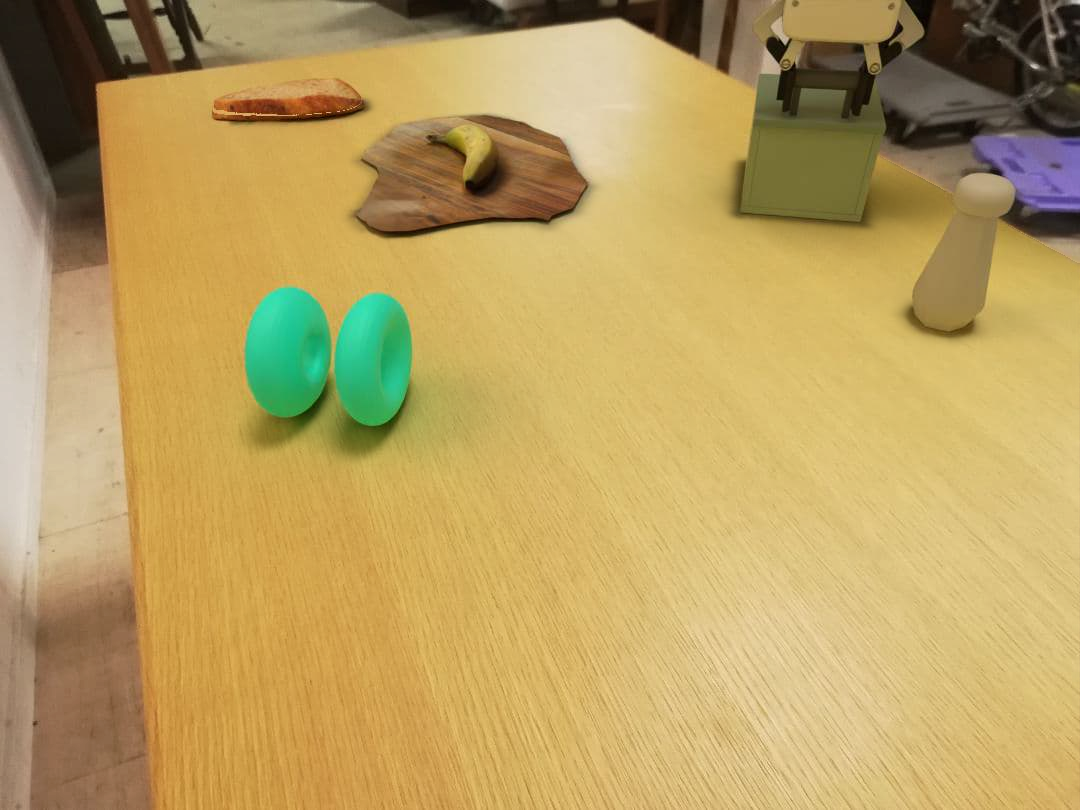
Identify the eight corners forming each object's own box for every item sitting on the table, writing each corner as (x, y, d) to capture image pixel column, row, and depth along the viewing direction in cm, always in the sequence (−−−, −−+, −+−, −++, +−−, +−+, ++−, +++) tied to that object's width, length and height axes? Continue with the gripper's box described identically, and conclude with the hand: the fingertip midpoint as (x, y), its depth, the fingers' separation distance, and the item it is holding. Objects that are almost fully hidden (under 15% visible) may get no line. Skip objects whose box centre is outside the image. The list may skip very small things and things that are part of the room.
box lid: (884, 134, 77) (898, 79, 73) (752, 126, 79) (760, 73, 76) (873, 86, 87) (885, 36, 84) (758, 80, 90) (765, 32, 87)
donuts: (385, 455, 58) (361, 345, 52) (259, 442, 60) (221, 334, 53) (423, 373, 66) (406, 269, 59) (310, 363, 67) (282, 261, 61)
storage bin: (860, 222, 84) (883, 131, 77) (740, 212, 86) (753, 124, 80) (853, 170, 94) (873, 86, 87) (746, 163, 96) (758, 80, 90)
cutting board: (608, 217, 86) (609, 184, 84) (357, 247, 83) (351, 214, 80) (544, 109, 113) (543, 81, 110) (352, 128, 109) (347, 100, 107)
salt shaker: (971, 305, 71) (1024, 167, 63) (980, 341, 67) (1038, 199, 58) (902, 297, 72) (945, 161, 64) (907, 332, 68) (953, 191, 60)
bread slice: (203, 114, 115) (195, 88, 112) (305, 82, 125) (300, 57, 122) (271, 144, 105) (264, 116, 103) (376, 106, 115) (372, 80, 113)
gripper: (964, -109, 68) (907, 101, 80) (760, -109, 72) (734, 92, 83) (978, -95, 63) (915, 128, 74) (757, -96, 66) (729, 117, 78)
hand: (820, 107), depth 79 cm, fingers closed on box lid, 6 cm apart
